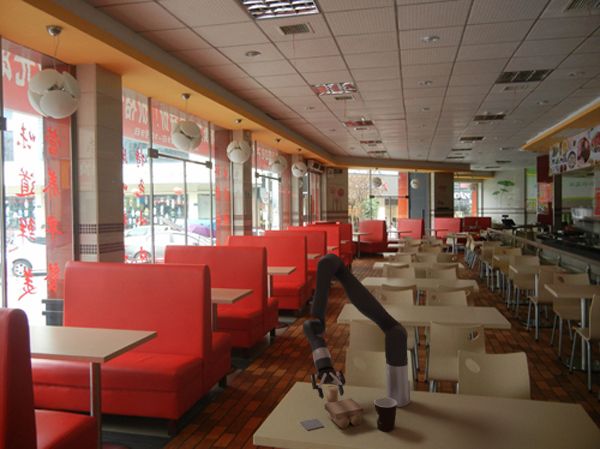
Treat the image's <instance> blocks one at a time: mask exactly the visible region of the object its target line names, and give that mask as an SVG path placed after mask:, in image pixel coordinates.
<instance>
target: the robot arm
mask: <svg viewBox="0 0 600 449" xmlns="http://www.w3.org/2000/svg"><path fill="white" fill-rule="evenodd" d="M318 259H319V258H318ZM316 264H317V266H316V279H315V287H314V294H313V298H312V301H311V302H312V303H311V306H310V311H309V314H310V315H311V317H313V318H315V319H308V320H307V319H306V320H305V321H304V322H303V325H302V331H303V334H304V335H305V337H306V339H307V341H308V343H309V345H310V347H311V352H312V357H313V362H314V365H315V370H316V373H312V374H311V375H310V379H311V386H312V389H313V390H317V393H318V397H319V398H320V399H324V397H325V396H324V392H323V388H322V385H323V384H325V385H327V384H332V383H333V384H334V385H336V387H337V388H338V392H339V393H338V394H339V396H340V397H342V396H344V393H345V391H344V387H343V386H345V384H346V383H347V382H346V381H347V380H346V378H345V375H344V373H343V371H342V369H340V370H338V371H336V370H335V367H334V363H333V360H332V356H331V352H330V350H329V347H328V343H327V341H326V339H325V337H323V335H324V334H325V333H326V330H327V325H326V314H327V313H326V312H327V310H328V309H327V308H328V304H329V291H330V290H329V288H330V285H331V281H332V279H333V277H334V278H335V280H337V281H338V282H339V284H340V285H341V287H342V288H343V291H344V292H345V295H346V297H347V299H348V300H349V302H350V303H351V304H352V306H354V307H355V309H357V311H358V312H360V313H361V314H362V315H363V316H364V317H366V318H368V319H369V320H370V321H372V322H374V324H376V325H377V327H378V328H380V330H381V331H382V333H383V334H384V355H385V356H384V357H385V375H386V376H385V379H386V380H385V381H386V382H385V383H386V384H385V385H386V392H385V393H386V398H391V399H394V400H395V401H396V402H397V408H400V407H401V408H402V407H406V406H408V405H410V404H411V381H410V380H409V366H408V365H409V357H408V339H409V338H408V336H409V334H408V331H407V329H406V328H405V326H403V325H402V324H401V323H400V322H399V321H398V320H397V319H396V318H394V316H392V315H391V314H390V313H389V312H388V311H387V310H386V308H385V307H384V306H383V305H382V304H381V303H380V302H379V301H378V299H377V298H376V297H375V296H374V294H373V293H371V291H370V290H368V288H366V286H365V285H364V284H363V283H362V282H361V281H360V280H359V279H358V278H357V277H356V276H355V275H354V274H353V273H352V271H351V270H350V269H349V267H348V266H346V264H345V262H344V261H343V260H342V259H341V258H340V257H339V256H338V255H337V254H336V253H332V252H329V253H325V255H323V256H321V257H320V259H319V260H318V261H317V263H316ZM338 378H339V379H338ZM317 379H318V380H319V384H317Z"/></svg>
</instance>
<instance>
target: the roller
mask: <svg viewBox="0 0 600 449" xmlns="http://www.w3.org/2000/svg"><path fill="white" fill-rule="evenodd" d="M338 392H339V389H338V386H337V385H336V386H335V385H330V386H327V388H326V395H327V396H326V398H327V399H326V401H327V403H331V402H336V401H339V393H338Z"/></svg>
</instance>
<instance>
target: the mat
mask: <svg viewBox="0 0 600 449" xmlns="http://www.w3.org/2000/svg"><path fill="white" fill-rule="evenodd" d="M300 424H301V425H302V427H304V429H305V430H306V431H312V430H317V429H320V428H324V427H325V425H324V424H323V423H322V422H320V420H319V419H317V417H315V418H311V419H308V420H304V421H303V420H302V421H300Z"/></svg>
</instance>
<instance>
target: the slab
mask: <svg viewBox="0 0 600 449" xmlns="http://www.w3.org/2000/svg"><path fill="white" fill-rule="evenodd" d="M324 410H326V411H327V416H328V417H329V419H331V421H333V422H334V423H335V424H336V425H337V426H338V427H339V428H341V429H343V430H344V429H345V430H346V429H347V428H348V427H349V424H350V423H351V424H352V425H353V426H355V427H356V426H357V427H358V426H359V425H361V423H362V420H363V417H362V416H361V414H364V407H363V406H361V405H360V404H359V403H358V402H357V401H355V400H354V399H352V398H347V399H342V400H338V401H336V402H331V403H326V402H325V403H324Z"/></svg>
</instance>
